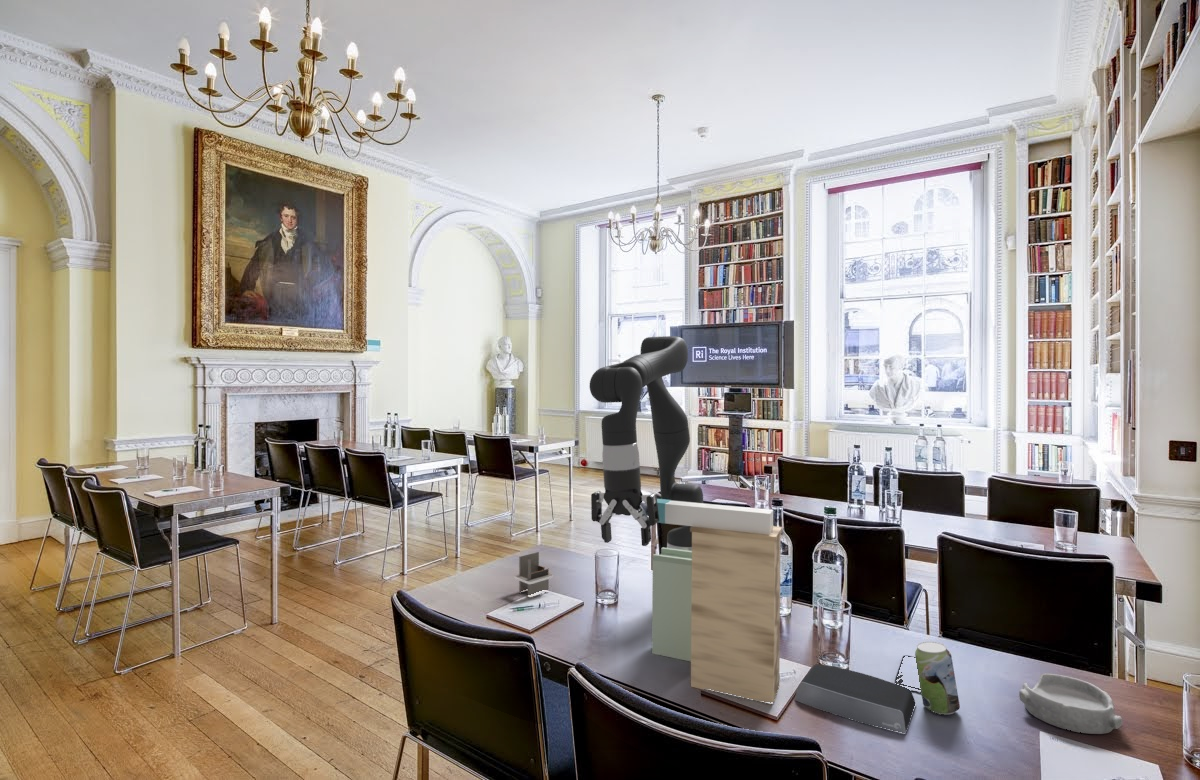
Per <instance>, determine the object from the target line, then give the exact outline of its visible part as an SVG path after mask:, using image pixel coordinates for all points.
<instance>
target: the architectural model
mask: <svg viewBox="0 0 1200 780" xmlns="http://www.w3.org/2000/svg"><path fill="white" fill-rule="evenodd" d="M539 554H540V552H539V551H536V552H532V553H529V554H525V555H521V556H519V559H518V560H519V563H518V565H519V566H518V570H519V571H518V574H514V576H513V577H514V580H517V581H518V583H519V585H518V588H519V590H518V591H519V592H521V591H523V590H526V589H528V591H527V594H528V595H531V594H534V593H536V592H539V591H542V590H548V589H549V588H550V587H549V586H550V585H549V582H550V581H549V580H550V579H553V576H554V574H553V573H551V572H549V569H550V568H549V567H547V568H546V569H545V566H542V565H540V564H539V563H540V555H539ZM549 590H550V589H549Z"/></svg>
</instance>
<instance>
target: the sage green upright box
mask: <svg viewBox="0 0 1200 780" xmlns="http://www.w3.org/2000/svg"><path fill="white" fill-rule="evenodd" d="M660 550H661V551H660V552H661V553H660V554H657V553H653V554H652V604H651V605H652V606H651V607H652V608H651V609H652V615H651V616H652V619H651V622H652V625H651V626H652V629H651V630H652V634H651V639H652V640H651V651H652V652H651V654H652V655H658V656H664V657H668V658H673V659H677V660H681V661H683V660H684V661H687V662H691V604H692V551H688V550H680V549H672V548H667V547H664V546H663V547H661V549H660Z"/></svg>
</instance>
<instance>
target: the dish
mask: <svg viewBox="0 0 1200 780" xmlns="http://www.w3.org/2000/svg"><path fill="white" fill-rule="evenodd" d="M1018 695H1019V696H1018V697H1019V701H1020V702H1022V703H1023V704H1024V707H1025V709H1026V710H1027V711H1028V712H1029V713H1030V714H1031V715H1032V716H1034V717H1035V718H1036V719H1039V720H1040V721H1043V722H1044V723H1047V724H1049V725H1051V726H1055V727H1057V728H1061V729H1063V730H1066V729H1067V730H1068V731H1070V730H1071V732H1076V733H1080V732H1081V733H1082V734H1087V735H1088V734H1090V735H1091V734H1092V735H1104V734H1110V732H1112V731H1113V730H1114V729H1115V730H1116V729H1117V730H1118V729H1119V728H1121V727H1122V726H1123V718H1122V716H1120V715H1117V714H1116V710H1115V705H1114V702H1113V699H1112V698H1111V696H1110V694H1109V693H1108V692H1107V691H1105V690H1102V689H1101V688H1100V687H1098V686H1097V685H1095V684H1093V683H1091V682H1088V681H1086V680H1083V679H1079V678H1076V677H1071V676H1067V675H1061V674H1056V673H1055V674H1054V673H1042V675H1041V676H1040V677H1039V678H1038V681H1037V683H1036V684H1035V685H1034V686H1033V687H1032V688H1030V687H1029V684H1028V683H1027V682H1023V685H1022V688H1021V689H1019V691H1018ZM1067 730H1066V731H1067ZM1081 733H1080V734H1081Z"/></svg>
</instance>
